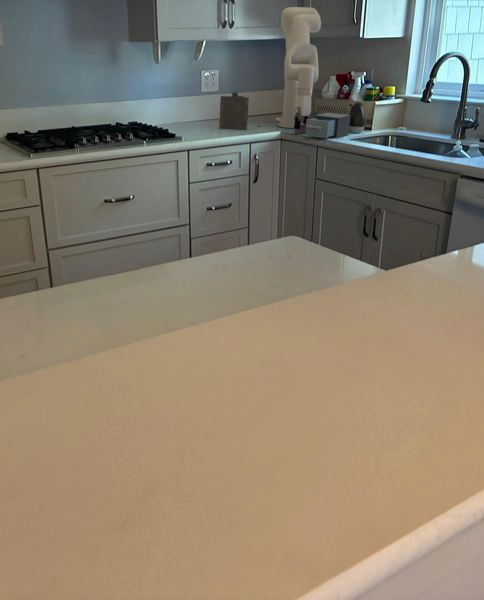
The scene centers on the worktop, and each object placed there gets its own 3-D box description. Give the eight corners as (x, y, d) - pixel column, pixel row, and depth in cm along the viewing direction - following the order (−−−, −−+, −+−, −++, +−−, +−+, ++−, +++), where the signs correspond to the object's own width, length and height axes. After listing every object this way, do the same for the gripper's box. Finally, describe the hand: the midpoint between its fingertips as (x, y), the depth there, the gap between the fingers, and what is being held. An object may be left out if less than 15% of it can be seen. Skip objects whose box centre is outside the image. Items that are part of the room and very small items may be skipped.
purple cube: (294, 133, 309) (295, 123, 307) (298, 132, 312) (299, 122, 310) (302, 134, 307) (303, 124, 305) (306, 133, 310) (307, 123, 308)
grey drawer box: (336, 138, 297) (338, 117, 293) (312, 135, 304) (314, 115, 300) (348, 135, 308) (350, 115, 304) (325, 132, 315) (327, 112, 311)
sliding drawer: (322, 139, 286) (324, 122, 283) (300, 136, 292) (302, 119, 289) (338, 135, 300) (340, 118, 297) (317, 132, 306) (318, 116, 303)
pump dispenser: (339, 131, 319) (343, 100, 313) (355, 130, 323) (359, 100, 317) (352, 134, 310) (356, 102, 304) (368, 133, 314) (372, 102, 308)
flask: (219, 127, 319) (221, 91, 312) (247, 128, 317) (249, 92, 310) (218, 128, 316) (220, 91, 309) (246, 129, 314) (248, 92, 307)
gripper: (305, 91, 310) (302, 126, 316) (289, 92, 297) (286, 128, 303) (319, 92, 306) (315, 127, 312) (303, 93, 293) (300, 130, 299)
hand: (301, 128), depth 308 cm, fingers open, 9 cm apart
